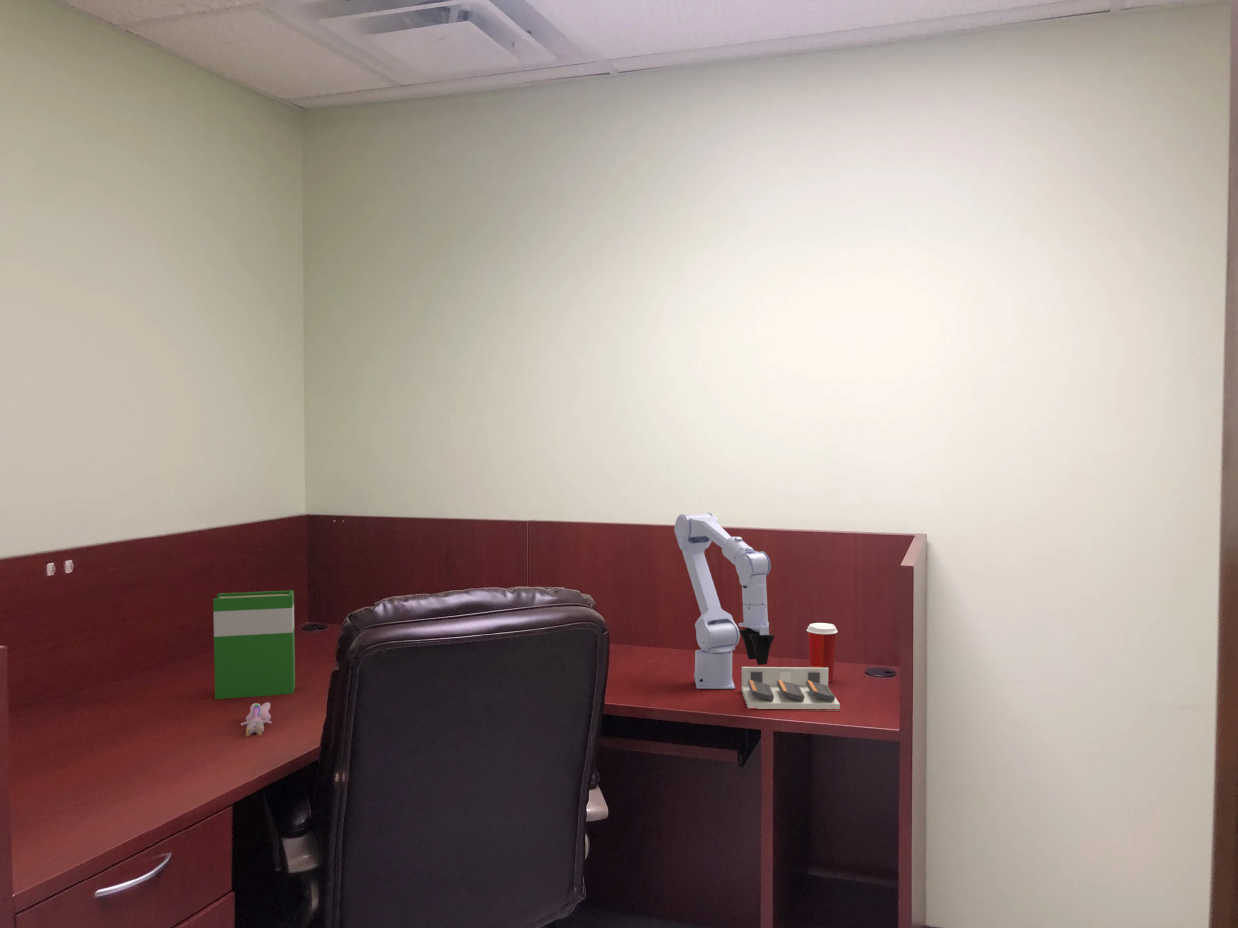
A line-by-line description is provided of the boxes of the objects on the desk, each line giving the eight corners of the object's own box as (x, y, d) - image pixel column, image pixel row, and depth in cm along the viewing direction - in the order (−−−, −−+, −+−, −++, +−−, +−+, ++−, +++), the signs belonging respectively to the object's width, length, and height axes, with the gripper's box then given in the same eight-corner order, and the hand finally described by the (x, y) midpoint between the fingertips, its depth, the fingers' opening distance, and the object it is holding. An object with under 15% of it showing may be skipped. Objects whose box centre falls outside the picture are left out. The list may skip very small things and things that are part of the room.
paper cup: (834, 675, 251) (835, 622, 251) (838, 684, 244) (839, 629, 243) (804, 675, 252) (805, 621, 251) (807, 683, 244) (807, 628, 244)
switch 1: (751, 695, 223) (753, 690, 223) (747, 683, 233) (748, 678, 233) (772, 700, 223) (774, 696, 223) (767, 688, 233) (768, 684, 233)
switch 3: (812, 695, 223) (814, 691, 223) (805, 683, 233) (806, 679, 233) (833, 701, 223) (835, 696, 223) (825, 689, 233) (826, 684, 233)
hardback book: (215, 699, 230) (213, 599, 228) (219, 690, 237) (217, 593, 236) (293, 693, 234) (291, 595, 233) (295, 685, 241) (293, 590, 240)
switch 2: (782, 695, 223) (783, 690, 223) (776, 683, 233) (777, 678, 233) (803, 701, 223) (804, 696, 223) (796, 688, 233) (797, 684, 233)
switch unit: (748, 709, 222) (748, 683, 222) (741, 690, 237) (741, 666, 237) (839, 710, 222) (840, 684, 222) (827, 691, 237) (827, 667, 237)
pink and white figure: (269, 742, 204) (277, 709, 218) (268, 716, 203) (276, 685, 217) (238, 744, 202) (247, 711, 217) (236, 718, 201) (246, 686, 215)
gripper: (730, 601, 235) (733, 657, 235) (746, 608, 221) (749, 668, 220) (758, 599, 236) (761, 655, 236) (776, 606, 222) (779, 665, 221)
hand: (757, 661), depth 228 cm, fingers open, 7 cm apart
